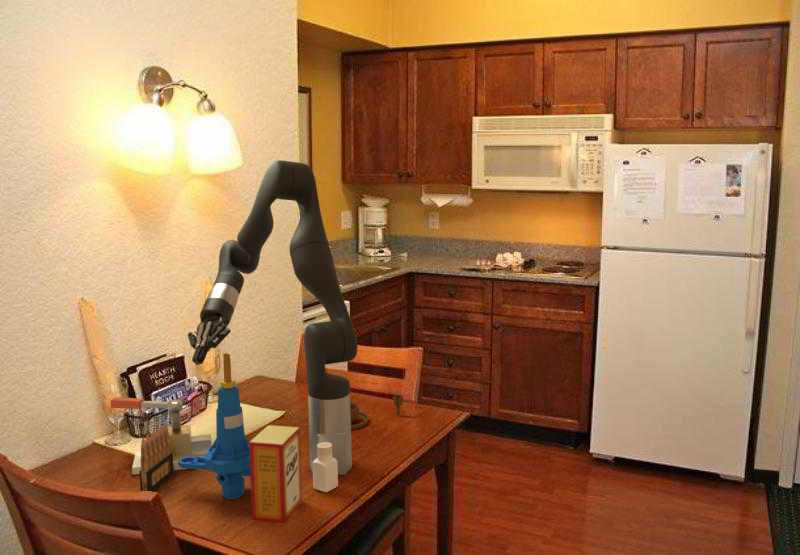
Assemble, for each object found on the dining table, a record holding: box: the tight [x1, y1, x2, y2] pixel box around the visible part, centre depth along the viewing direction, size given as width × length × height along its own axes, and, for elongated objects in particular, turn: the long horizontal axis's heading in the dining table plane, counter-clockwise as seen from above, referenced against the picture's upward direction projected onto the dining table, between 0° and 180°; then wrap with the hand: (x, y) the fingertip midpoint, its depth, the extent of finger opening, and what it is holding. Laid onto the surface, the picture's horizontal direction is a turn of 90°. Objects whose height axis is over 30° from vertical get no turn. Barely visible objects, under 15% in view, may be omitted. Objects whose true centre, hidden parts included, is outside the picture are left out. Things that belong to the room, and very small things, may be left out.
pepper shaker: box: [312, 442, 339, 493], centre depth 154 cm, size 4×4×10 cm
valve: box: [178, 352, 251, 500], centre depth 150 cm, size 11×17×30 cm, turn 76°
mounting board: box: [131, 451, 204, 475], centre depth 168 cm, size 19×9×2 cm, turn 104°
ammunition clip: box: [139, 422, 175, 492], centre depth 156 cm, size 11×2×12 cm, turn 168°
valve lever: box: [110, 397, 184, 412], centre depth 167 cm, size 3×17×2 cm, turn 82°
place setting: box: [350, 394, 404, 434], centre depth 192 cm, size 18×20×6 cm
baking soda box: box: [248, 424, 303, 524], centre depth 144 cm, size 10×6×16 cm
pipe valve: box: [145, 410, 213, 461], centre depth 167 cm, size 15×6×11 cm, turn 104°
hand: (197, 362), depth 176 cm, fingers closed
